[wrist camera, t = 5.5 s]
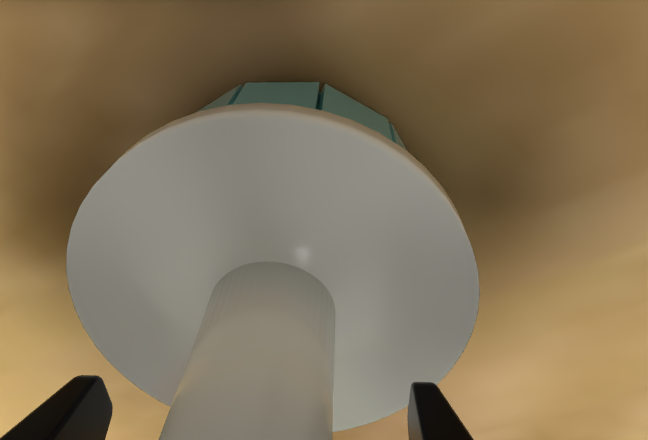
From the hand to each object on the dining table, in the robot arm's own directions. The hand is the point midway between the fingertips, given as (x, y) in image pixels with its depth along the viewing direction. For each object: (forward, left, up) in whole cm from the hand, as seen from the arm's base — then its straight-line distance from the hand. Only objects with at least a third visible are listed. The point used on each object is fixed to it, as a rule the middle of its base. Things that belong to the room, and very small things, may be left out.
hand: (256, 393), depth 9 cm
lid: (0, 0, -3) cm, 3 cm away
